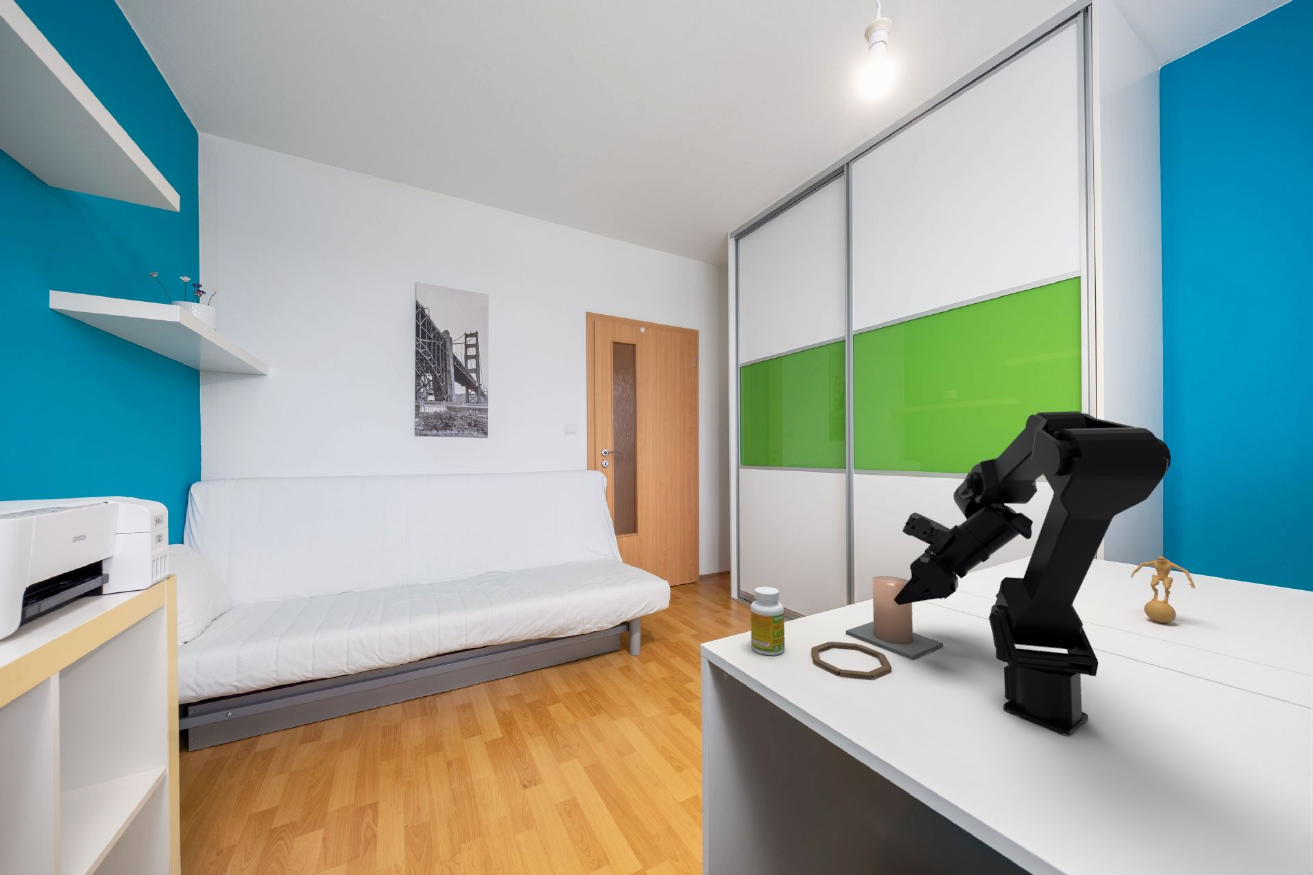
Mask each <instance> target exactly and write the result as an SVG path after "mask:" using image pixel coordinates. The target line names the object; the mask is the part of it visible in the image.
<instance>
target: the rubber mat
mask: <svg viewBox="0 0 1313 875" xmlns="http://www.w3.org/2000/svg"><path fill="white" fill-rule="evenodd" d="M845 634H846V635H847V636H849V637H853V638H856V639H858V640H860V641H863V642H866V643H868V644H871V645H873V646H876V647H878V648H881V649H883V650H885V651H889V652H892V653H894V654H896V655H898V656H899V655H900V656H902V657H905V658H907V659H909V660H915V659H918V658H920V657H923V656H924V655H927V654H929V653H931V652H934V651H936V650H939V649H941V648H943V647H944V642H942V641H938V640H936V639H933V638H930V637H927V636H924V635H921V634H918V633H916V632H913V641H912V642H910V643H907V644H897V643H890V642H886V641H883V640H880V639H878V638H877V637H875V636H874V625H873V621H870V622H867V623H865V624H864V623H863V624H861V625H858V626H856V627H852V628H850V629H846V630H845Z"/></svg>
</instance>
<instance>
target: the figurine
mask: <svg viewBox="0 0 1313 875" xmlns="http://www.w3.org/2000/svg"><path fill="white" fill-rule="evenodd" d="M1146 566H1154V569H1155V571H1156V573H1157V575H1156V574H1155V573H1154V574H1152V575H1151V582H1150V587H1151V589H1152V591H1153V592H1154V595H1153V597H1152V598H1151V600H1149V601H1147V602H1146V603H1145V605H1144V607H1143V610H1144V613H1145V615H1146V616H1147V617H1148V618H1149V619H1151V620H1152V621H1154V622H1157V623H1160V624H1168V623H1171V622H1173V621H1174V620H1175V619H1176V616H1177V612H1176V610H1175V608H1174V607H1173V606H1172V605H1171V604H1170V603H1169V598H1170V594H1171V591H1170V589H1171V588H1172V583H1173V581H1174V578H1173V577H1172V576H1169V575H1170V573H1171V571H1172V569H1176V570H1178V571H1180V572H1182V573H1185V576H1186V577H1187V580H1188V581H1189V582H1190V583H1189V584H1188V585H1189V586H1190V585H1191V586H1190V588H1191V589H1195V588H1196V587H1195V586H1196V585H1195V583H1194V580H1193V578H1192V576H1191V573H1190V572H1189V571H1188V570H1187V569H1185V568H1183V567H1181V566H1179V565H1178V564H1176V563H1174V562H1171V561H1170V560H1169V559H1166V558H1165V557H1164V556H1162V555H1160V556H1158V557H1157V559H1155V560H1151V561H1145V562H1142V563H1140V564H1139V565H1138V566H1137V567H1136V568H1135V569H1134V570H1133V572H1132V573H1131V576H1130V578H1131V579H1132V578H1134V576H1135V574H1137V572H1139V571H1140V570H1141V569H1142V568H1143V567H1146ZM1160 582H1162V586H1164V593H1165V595H1164V598H1163V600H1159V599H1158V596H1159V590H1158V588H1157V587H1156V586H1158V585H1160Z"/></svg>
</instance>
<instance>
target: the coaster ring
mask: <svg viewBox="0 0 1313 875" xmlns="http://www.w3.org/2000/svg"><path fill="white" fill-rule="evenodd" d="M830 649H843V650H855V651H856V650H857V651H859V652H862V653H864V654H867V655H868V656H871V657H874V658H877V659H878V661H879V662H880V664H881V666H879V667H877V668H874V669H871V670H869V671H863V670H862V671H861V670H854V669H853V670H851V669H841V668H840V667H837V666H835V665H832V664H830V663H829V662H827V661H824V660H822V659H821V658H820V657H821V656H820V653H823V652H826V651H828V650H830ZM810 652H811V658H812V662H813V663H812V664H813V665H815V666H816V667H819V668H821V669H823V670H825V671H827V672H829V673H831V674H833V675H835V676H837V677H839V676H840V677H841V678H851V679H852V678H853V679H860V680H861V679H863V680H876V679H878V678H880V677H882V676H884V675H887V674H889V673H891V672H892V665H891V663H890V661H889V659H888V657H887V656H886V655H885V654H884V653H883V652H880V651H878V650H875V649H872V648H871V647H868V646H866V645H863V644H859V643H856V642H855V643H852V642H841V641H827V642H824V643H821V644H819V645H816V646H813V647H811V649H810Z"/></svg>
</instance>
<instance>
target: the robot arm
mask: <svg viewBox="0 0 1313 875" xmlns="http://www.w3.org/2000/svg"><path fill="white" fill-rule="evenodd" d="M1171 459H1172V455H1171V450H1170V449H1169V447H1168V445H1167V443H1165V441H1163V440H1162V439H1161V438H1158V437H1157V436H1156V435H1155V434H1154V433H1153V432H1152V431H1150V430H1149V429H1147V428H1145V427H1141V426H1140V427H1139V426H1138V427H1135V426H1133V425H1129V424H1128V425H1127V424H1122V423H1119V422H1115V421H1109V420H1104V419H1101V418H1097V417H1094V416H1093V415H1090V414H1089V413H1086V412H1081V411H1080V410H1079V411H1078V410H1077V411H1075V410H1074V411H1073V410H1071V411H1045V412H1044V411H1041V412H1040V411H1039V412H1037V413H1036V414H1035V413H1034V414H1030V415H1029V416H1028V417H1027V419H1026V422H1025V427H1024V428H1023V430H1022V431H1021V432H1020V433H1019V434H1018V435H1017V436H1016V437H1015V438H1014V439H1013V440H1012V442H1011V443H1010V444H1009V445H1008V446H1007V447H1006V448H1005V449H1004V450H1003V451H1002V452H1001V454H1000V455H999V456H998V457H995V458H991V459H986V460H981V461H980V462H978V463H977V464H975V465H973V467H972V468H971V469H970V472H968V473H967V475H966V477H965V478H964V480H963V482H962V483H961V484H960V485H959V486H958V487H957V488H956V489H955V491H954V492H953V500H954V503H955V504H956V506H957V507H958V509H959V510H960V511H961V513H962V515H963V516H964V518H965V521H963V522H962V523H960V524H955V525H954V526H953V527H952V528H949V527H947V526H945V525H943V524H942V523H939V522H937V521H936V520H933V519H931V518H929V517H926V516H925V515H923V514H920V513H918V512H913V513H911V514H910V515H909V516H908V519H907V521H906V522H905V525H904V527H903V528H902V533H904V534H905V535H907V536H910V537H913V538H916V539H918V540H919V541H922V542H923V543H926V544H928V546H927V547H926V548H925V550H924V552H923V553H922V554H920V555H919V556H918V557H916V559H914V560H913V561H912V562H911V563H910V566H909V570H910V574H911V577H910V579H908V580H909V581H908V583H907V584H906V585H905V586H904V587H903V589H902V590H901V591H900V592H899V593H898V595H897V596H896V597H895V598H894V601H895V602H896V603H897V604H898V605H902V604H908V603H912V604H914V603H918V602H925V601H929V600H937V599H939V600H942V599H943V600H944V599H945V600H946V599H947V598H949V597H950V596H952V595H953V594H955V593H956V591H957V589H958V588H959V578H960V579H963V578H964V577H965V576H967V575H968V573H969V571H971V570H972V569H974V568H975V567H977V566H978V565H980V564H981V563H983V564H984V563H985V562H986V561H989V559H990V557H991V555H993V554H994V553H996V552H997V551H998V550H1000V549H1001V548H1003V547H1004V546H1005V545H1007V544H1008V543H1010V542H1011V541H1012V540H1014V539H1015V538H1016V537H1018V536H1019V535H1020V536H1022V537H1023V538H1024V539H1025V540H1030V539H1031V538H1032V536H1033V530H1032V527H1033V526H1032V525H1033V523H1034V521H1033V520H1032V519H1031V518H1030V517H1028V516H1027V515H1025V514H1024V513H1023V512H1016V510H1015V509H1013V508H1012V507H1010V506H1008V505H1006V504H1009V505H1011V504H1013V505H1014V504H1015V505H1017V504H1018V505H1026V504H1028V503H1029V502H1030V501H1031V500H1032V498H1033V497H1035V494H1036V493H1037V492H1038V487H1037V482H1036V480H1038V478H1040V477H1041V476H1042V475H1044V477H1045V479H1046V481H1047V484H1049V487H1050V488H1051V490H1052V492H1053V493H1052V494H1053V495H1052V498H1051V501H1050V504H1049V506H1048V509H1047V512H1046V514H1045V516H1044V517H1045V518H1044V519H1043V523H1042V526H1041V528H1040V531H1039V534H1038V536H1037V540H1036V541H1035V544H1034V548H1033V551H1032V553H1031V556H1030V558H1029V561H1028V564H1027V567H1026V569H1025V572H1024V575H1023V577H1009V576H1006V577H1004V578H1003V579H1002V580H1001V581H1000V583H999V584H1000V585H999V589H998V592H997V593H996V594H995V598H996V601H995V603H994V604H993V605H992V606H991V607H990V608H991V609H990V612H989V616H988V621H989V624H990V629H991V633H992V637H993V638H992V640H993V646H994V647H995V658H996V659H997V660H998V661H1001V662H1003V663H1006V664H1007V665H1006V666H1004V667H1003V679H1004V680H1003V681H1004V685H1003V686H1004V698H1005V699H1006V700H1007V702H1005V703H1003V705H1002V707H1003V709H1004V711H1006V712H1009V713H1012V714H1015V715H1017V716H1019V717H1022V718H1024V719H1027V720H1029V721H1032V722H1034V723H1036V724H1038V725H1041V726H1044V727H1046V728H1048V729H1050V730H1053V731H1056V732H1058V733H1060V734H1064V735H1067V736H1068V735H1071V734H1072V733H1073V732H1075V731H1076V730H1077V729H1078V728H1079V727H1081V726H1082V725H1083V724H1084V723H1085V722H1087V721H1088V720H1089V714H1087V713H1086V712H1083V706H1082V705H1083V704H1082V682H1081V680H1082V676H1081V675H1087V676H1091V677H1097V672H1098V667H1099V660H1098V658H1097V656H1096V654H1095V652H1094V650H1093V647H1092V645H1091V643H1090V641H1089V639H1088V636H1087V634H1086V631H1085V629H1084V627H1083V625H1084V623H1083V621H1082V619H1081V617H1080V616H1079V614H1078V612H1077V611H1076V609H1075V607H1074V605H1073V604H1074V601H1075V600H1076V597H1077V595H1078V593H1079V591H1080V589H1081V587H1082V585H1083V584H1084V583H1083V582H1084V580H1085V579H1086V576H1087V574H1088V572H1089V570H1090V568H1091V565H1092V563H1093V561H1094V559H1095V557H1096V555H1097V552H1098V550H1099V548H1100V546H1101V544H1102V542H1103V540H1104V538H1105V537H1106V536H1105V535H1106V534H1107V532H1108V529H1109V527H1110V526H1111V523H1112V521H1113V518H1114V517H1115V516H1117V515H1118V514H1121V513H1123V512H1124V511H1127V510H1128V509H1131V508H1133V507H1135V506H1136V505H1138V504H1140V503H1142V502H1144V501H1146V500H1147V499H1148V498H1149V497H1150V495H1151V494H1152V493H1153V492H1154V491H1155V490H1156V488H1157V487H1158V486H1159V484H1160V482H1162V480H1163V479H1164V477H1165V476H1166V473H1167V472H1168V471H1169V468H1170V466H1171V463H1172V462H1171ZM1016 645H1018V646H1019V645H1020V646H1028V647H1029V646H1030V647H1039V648H1048V649H1049V648H1050V649H1051V648H1052V649H1058V650H1059V649H1060V650H1066V651H1067V652H1056V651H1047V650H1038V649H1028V648H1018V647H1016Z"/></svg>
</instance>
